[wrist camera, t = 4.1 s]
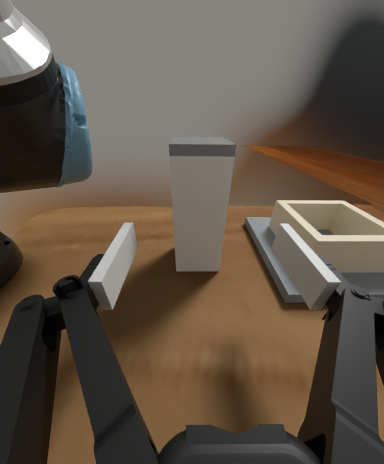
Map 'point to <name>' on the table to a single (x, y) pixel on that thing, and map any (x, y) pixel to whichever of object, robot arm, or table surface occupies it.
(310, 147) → the table surface
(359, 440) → the robot arm
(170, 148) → the white grey-topped block
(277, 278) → the holder
